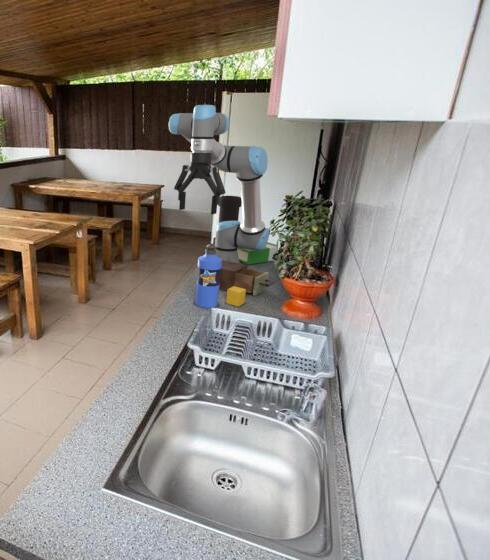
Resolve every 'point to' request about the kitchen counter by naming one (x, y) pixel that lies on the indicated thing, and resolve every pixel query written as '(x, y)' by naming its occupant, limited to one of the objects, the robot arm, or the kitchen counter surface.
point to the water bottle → (208, 278)
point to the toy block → (236, 296)
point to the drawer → (252, 280)
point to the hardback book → (257, 254)
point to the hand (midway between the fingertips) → (197, 211)
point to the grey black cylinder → (229, 209)
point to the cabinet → (229, 274)
